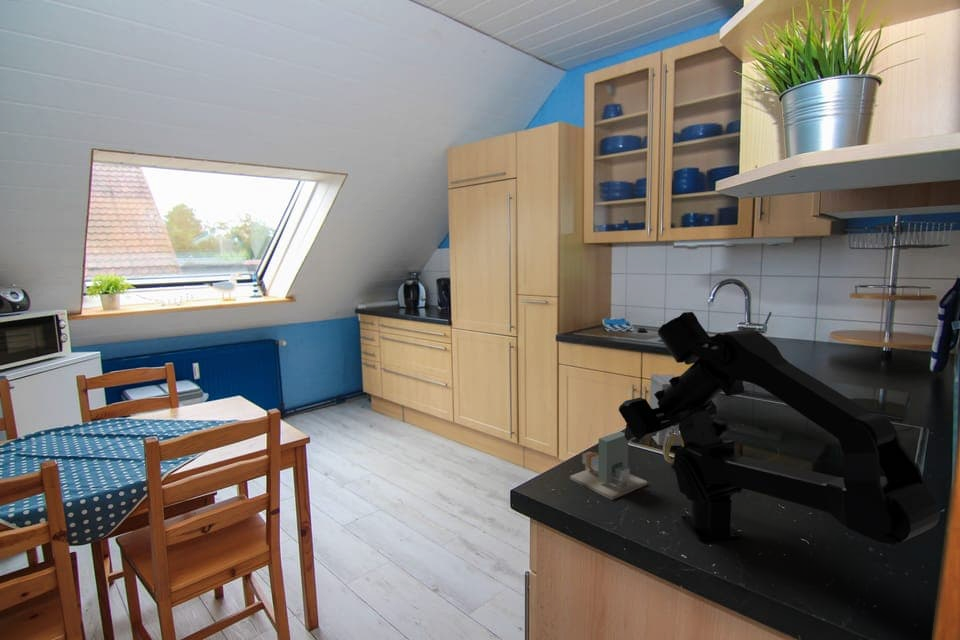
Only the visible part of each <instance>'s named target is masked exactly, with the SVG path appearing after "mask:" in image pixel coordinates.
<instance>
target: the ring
mask: <svg viewBox="0 0 960 640" xmlns="http://www.w3.org/2000/svg"><path fill="white" fill-rule="evenodd" d="M670 434H671V435H673V434H674V436H673V437H672V438H671V439H670V441H669V437H670ZM678 436H679V437H680V439H681V442H682V446H681V447H683V446H684V442H683V439H682V436H681V433H680V430H679V429H678V428H675V426H673V427H671V428H669V429H668V431H667V433H666V436H665V439H664V444H663V446H662V455H663V458H664V460H665V461H666V462H667V463H670V464H671V465H674V457H673V458H672V459H671V457H670V451H671V448H672V447H673V446H672V444H673V442H674V441H675V440H676V438H677V437H678ZM668 441H669V442H668Z"/></svg>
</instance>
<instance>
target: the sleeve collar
mask: <svg viewBox="0 0 960 640" xmlns="http://www.w3.org/2000/svg"><path fill="white" fill-rule="evenodd" d="M624 435H625V432H623V431H617V432H613V433H611V434H608V435H605V436H602V437H599V438H598V481H600V482H602V483H605V484H609V483H611V482H612V465H615V464H617V463H618V464H621V465H623V466H626V467H628V468H629V441H627V440H626V438H625V436H624Z"/></svg>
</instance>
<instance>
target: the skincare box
mask: <svg viewBox="0 0 960 640" xmlns="http://www.w3.org/2000/svg"><path fill="white" fill-rule="evenodd" d="M673 377H677V376H676V375H675V374H650V385H649V386H650V388H649V402H648V403H649V405H650V407H651V408H652V409H654V408H658V407H659V406H658V400H657V398H656V397H655V395H654V394H655V393H656V392H657V391H661V390H665V389H667V388H668V387H669V386H670V385H671V384H670V382H669V380H670V379H671V378H673ZM671 427H673V426H671ZM671 427H669V428H671ZM669 428H667V429H664V430H662V431H660V432H658V433H657V434H656V436H652V437H651V439H653V440H654V441H655V443H656V444H657V446H660V447H661V446H662V447H663V444H664V439H665V436H666V433H667V431H668V429H669ZM675 428H678V429H679V424H678V425H676V426H675ZM673 436H674V434H673V435H671V434H670V437H669V441H670V439H671V438H672V437H673ZM669 441H668V442H669ZM674 446H678V447H682V442H681V439H680V437H679V436H678V437H677V438H676V440H675V441H674V442H673V444H672V446H671V447H674Z"/></svg>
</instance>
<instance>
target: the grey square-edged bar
mask: <svg viewBox="0 0 960 640" xmlns="http://www.w3.org/2000/svg"><path fill="white" fill-rule="evenodd" d="M598 454H599V452H595V451H593V452H592V451H587V452H584V453H582V454H581V455H582V457H581V459H582V461H581V463H582V464H583V465H585V468H584V469H585V470H586V471H589V472H591V471H594V469H596V470H598ZM585 470H584V471H585ZM629 474H630V468H629V466H628V467H626V466H623V465H621V464H618V463H617V464H615V465H612V477H614V478H616V479H618V485H619V486H621V487H626V486H627V480H628V479H629Z"/></svg>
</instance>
